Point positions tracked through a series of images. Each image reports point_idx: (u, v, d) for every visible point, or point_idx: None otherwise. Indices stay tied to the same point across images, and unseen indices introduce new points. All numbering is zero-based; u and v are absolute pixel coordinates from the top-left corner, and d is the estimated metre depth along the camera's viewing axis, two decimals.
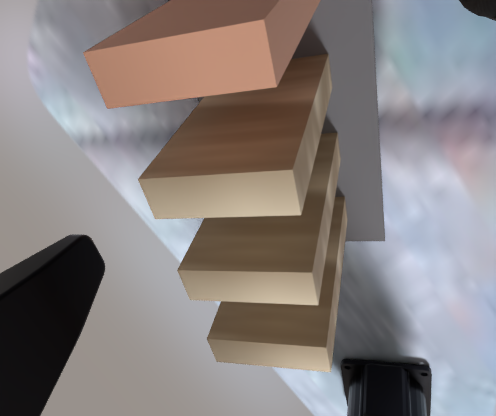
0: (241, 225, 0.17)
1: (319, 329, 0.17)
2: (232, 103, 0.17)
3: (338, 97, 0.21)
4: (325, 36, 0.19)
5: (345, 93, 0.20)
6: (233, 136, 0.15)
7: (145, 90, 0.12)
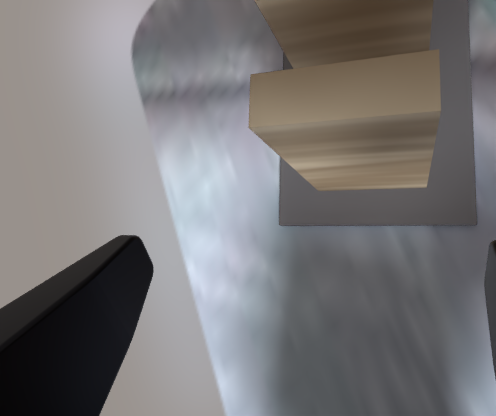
0: None
1: None
2: None
3: None
4: None
5: (435, 31, 0.21)
6: None
7: None
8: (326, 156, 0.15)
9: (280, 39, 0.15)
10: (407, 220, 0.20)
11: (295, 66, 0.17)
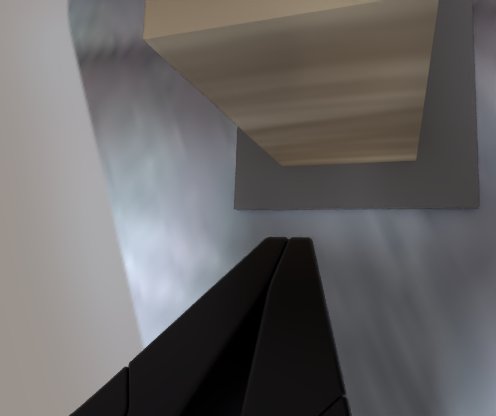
0: None
1: None
2: None
3: None
4: None
5: None
6: None
7: None
8: (277, 104, 0.11)
9: None
10: (391, 201, 0.16)
11: None
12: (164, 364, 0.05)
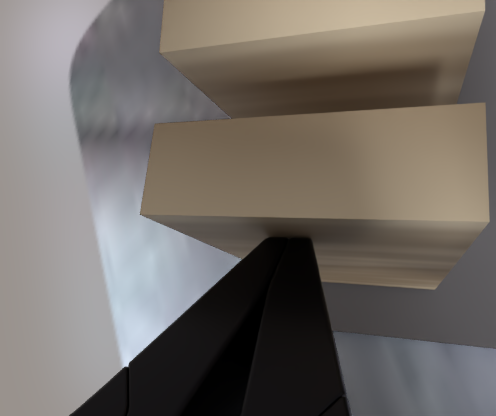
0: None
1: None
2: None
3: None
4: None
5: None
6: None
7: None
8: None
9: (221, 104, 0.10)
10: (406, 332, 0.15)
11: None
12: (164, 364, 0.05)
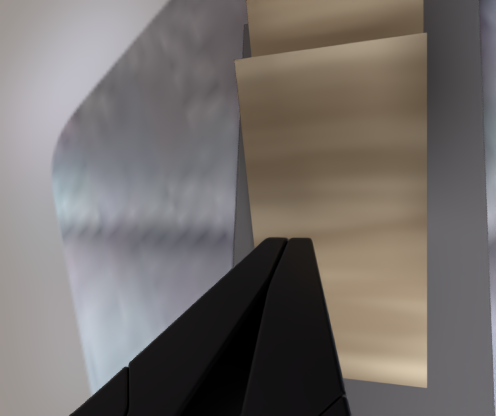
0: None
1: None
2: None
3: (428, 200, 0.15)
4: None
5: (440, 196, 0.15)
6: None
7: None
8: (298, 183, 0.12)
9: (251, 20, 0.13)
10: None
11: None
12: (164, 364, 0.05)
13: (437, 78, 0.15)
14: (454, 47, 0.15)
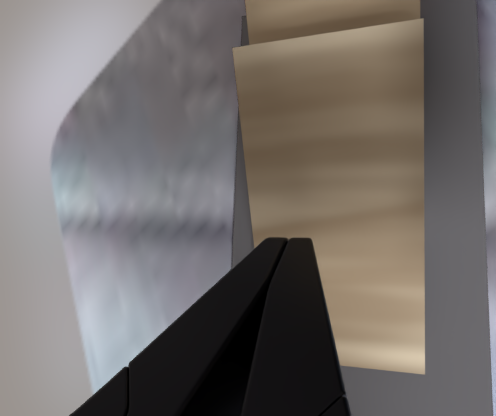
0: None
1: None
2: None
3: (426, 190, 0.15)
4: None
5: (437, 185, 0.15)
6: None
7: None
8: (296, 171, 0.12)
9: (249, 9, 0.13)
10: None
11: None
12: (164, 364, 0.05)
13: (434, 68, 0.15)
14: (451, 37, 0.15)
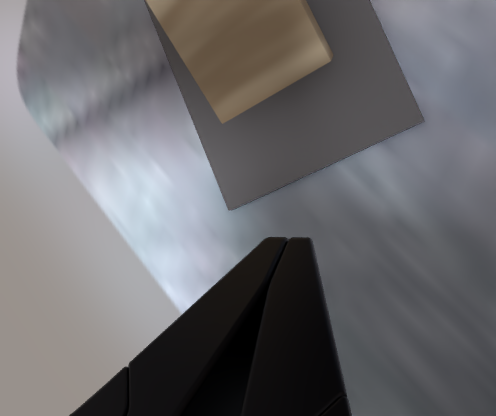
0: None
1: None
2: None
3: None
4: None
5: None
6: None
7: None
8: None
9: None
10: (350, 148, 0.17)
11: None
12: (164, 364, 0.05)
13: None
14: None
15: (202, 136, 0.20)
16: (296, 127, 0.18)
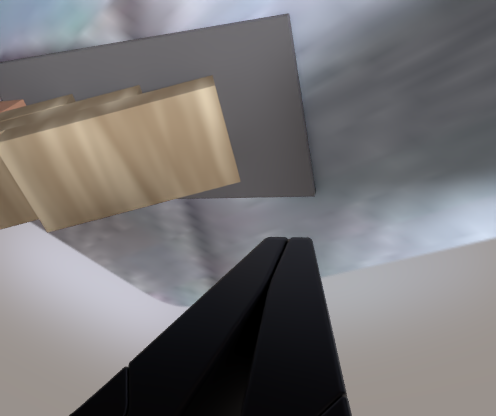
0: None
1: None
2: None
3: (116, 82, 0.22)
4: (72, 93, 0.23)
5: (110, 76, 0.21)
6: None
7: None
8: (105, 188, 0.21)
9: (32, 218, 0.23)
10: (292, 83, 0.19)
11: None
12: (164, 364, 0.05)
13: (43, 85, 0.23)
14: (22, 77, 0.23)
15: (248, 195, 0.24)
16: (262, 121, 0.21)
